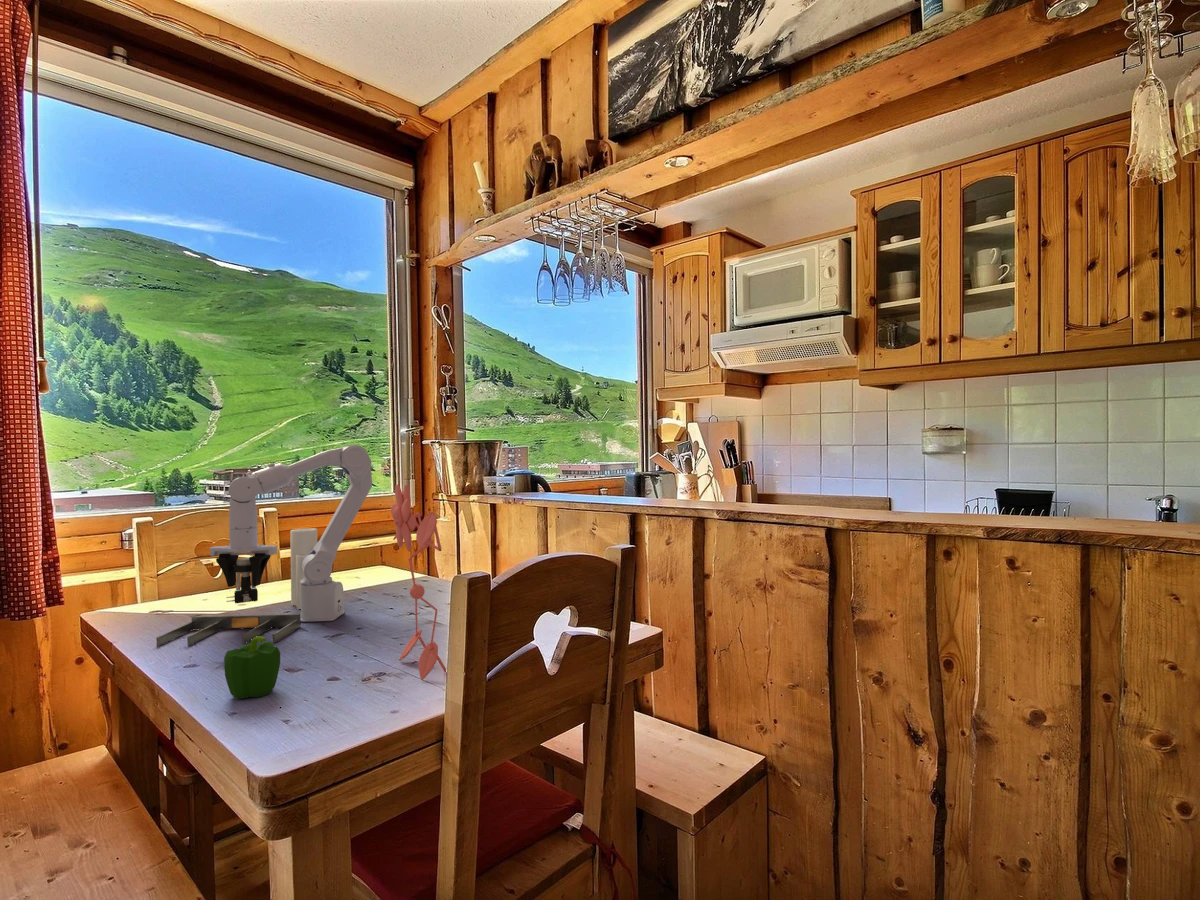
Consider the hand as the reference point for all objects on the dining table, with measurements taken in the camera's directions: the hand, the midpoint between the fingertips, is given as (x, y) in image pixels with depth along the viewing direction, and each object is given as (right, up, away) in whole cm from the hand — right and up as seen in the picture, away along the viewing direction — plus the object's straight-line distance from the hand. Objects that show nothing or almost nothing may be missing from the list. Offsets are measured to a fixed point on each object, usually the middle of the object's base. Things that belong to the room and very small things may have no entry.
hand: (244, 585), depth 143 cm
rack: (+1, -10, -7) cm, 12 cm away
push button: (-1, -4, +1) cm, 4 cm away
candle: (+5, -10, +22) cm, 24 cm away
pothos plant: (+47, -10, -30) cm, 57 cm away
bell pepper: (+25, -10, -39) cm, 48 cm away
